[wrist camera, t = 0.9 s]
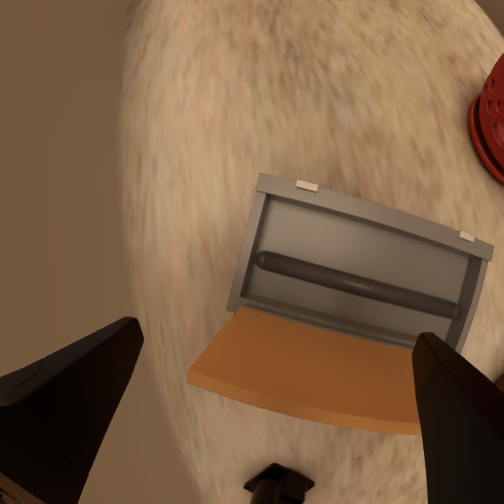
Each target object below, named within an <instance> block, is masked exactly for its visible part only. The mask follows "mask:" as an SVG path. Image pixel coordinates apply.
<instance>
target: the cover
mask: <svg viewBox="0 0 504 504" xmlns="http://www.w3.org/2000/svg"><path fill="white" fill-rule="evenodd" d="M413 349H414V348H411V347H406V346H402V345H397V344H392V343H388V342H383V341H379V340H375V339H370V338H366V337H362V336H358V335H354V334H349V333H345V332H341V331H337V330H333V329H330V328H326V327H322V326H318V325H314V324H310V323H307V322H303V321H299V320H296V319H292V318H288V317H285V316H281V315H278V314H274V313H271V312H267V311H264V310H260V309H257V308H254V307H250V306H247V305H244V304H242V305H241V307H240V308H239V309H238V311H237V312H236V313H235V314H234V315H233V317H232V318H231V319H230V320H229V322H228V323H227V324H226V325H225V327H224V328H223V329H222V330H221V331H220V333H219V334H218V335H217V336H216V337H215V339H214V340H213V341H212V342H211V344H210V345H209V346H208V347H207V348H206V350H205V351H204V352H203V353H202V354H201V356H200V357H199V358H198V359H197V360H196V362H195V363H194V364H193V365H192V366H191V368H190V369H189V372H188V378H187V383H190V384H192V385H195V386H197V387H200V388H203V389H205V390H208V391H211V392H214V393H216V394H219V395H222V396H225V397H228V398H231V399H234V400H237V401H240V402H243V403H247V404H250V405H253V406H257V407H260V408H263V409H267V410H271V411H274V412H278V413H282V414H286V415H290V416H294V417H298V418H302V419H307V420H311V421H316V422H321V423H326V424H331V425H336V426H342V427H348V428H354V429H361V430H368V431H376V432H385V433H394V434H406V435H422V434H421V428H420V421H419V416H418V410H417V404H416V397H415V386H414V375H413V366H412V352H413Z"/></svg>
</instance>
